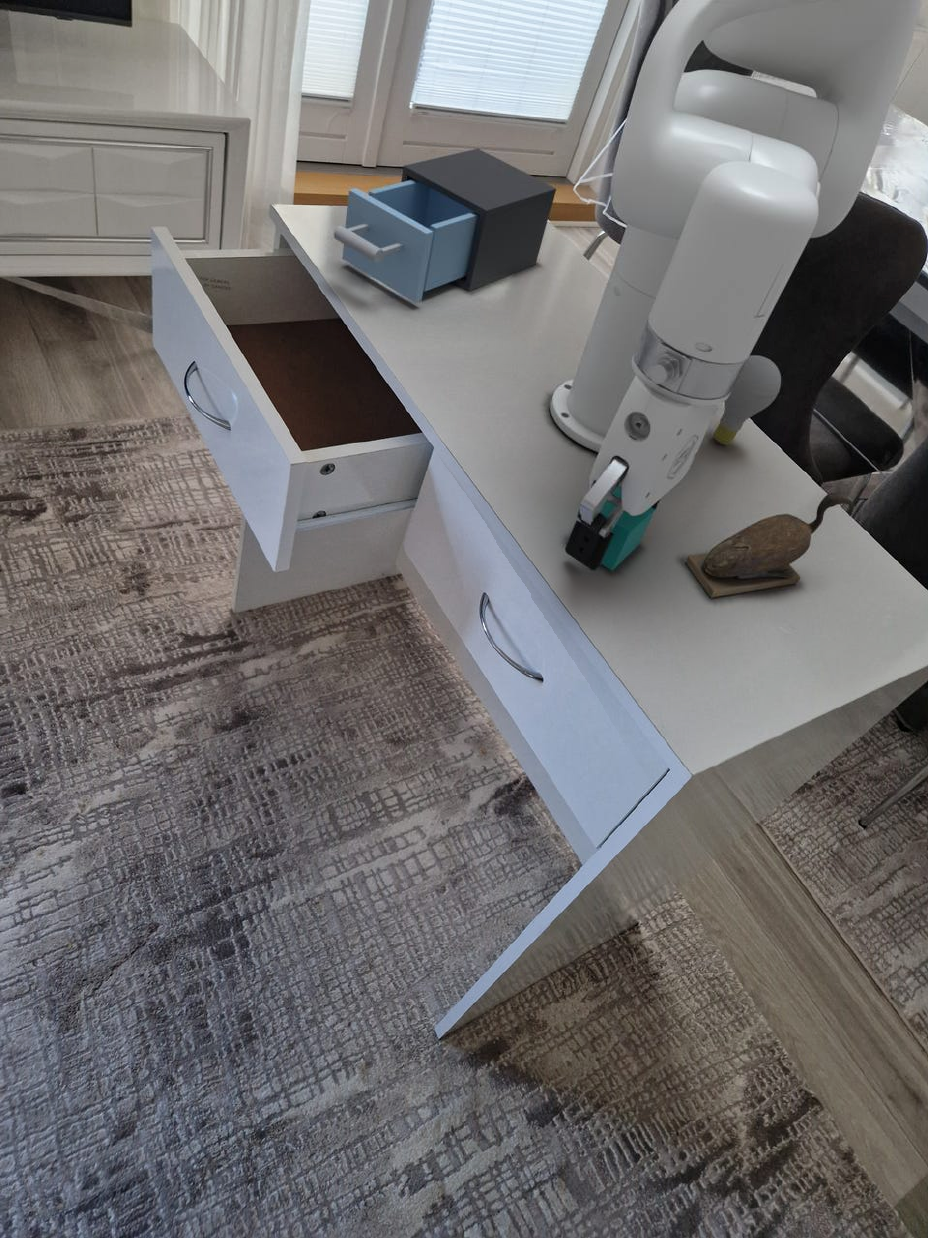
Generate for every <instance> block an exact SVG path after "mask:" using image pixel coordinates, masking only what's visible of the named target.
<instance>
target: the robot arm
mask: <svg viewBox="0 0 928 1238" xmlns="http://www.w3.org/2000/svg"><path fill="white" fill-rule="evenodd" d="M922 2H923V0H678V1H677V2H676V4H674V6H673V7H672V8H671V10H670V11H669V13H668V14H667V15H666V17H665V18H664V20H663V22H662V24H661V25H660V26H659V28H658V30H657V32H656V34H655V35H654V37H653V39H652V41H651V44H650V46H649V48H648V50H647V52H646V55H645V57H644V60H643V62H642V65H641V68H640V70H639V74H638V76H637V80H636V84H635V87H634V90H633V95H632V98H631V101H630V105H629V108H628V109H629V110H628V112H627V116H626V119H625V122H624V126H623V129H622V133H621V136H620V140H619V144H618V147H617V152H616V154H615V159H614V163H613V169H612V172H611V173H612V174H611V178H610V187H609V189H610V202H611V206H612V209H613V211H614V213H615V215H616V216H617V217H618V218H619V219H620V220H621V222H623V223H624V224H626V227H625V230H624V233H623V236H622V238H621V242H620V244H619V247H618V251H617V253H616V256H615V260H614V263H613V265H612V268H611V271H610V274H609V277H608V280H607V282H606V286H605V289H604V291H603V294H602V297H601V300H600V303H599V306H598V309H597V312H596V314H595V317H594V319H593V324H592V326H591V329H590V331H589V335H588V337H587V341H586V343H585V346H584V349H583V351H582V352H583V353H582V354H581V358H580V361H579V363H578V366H577V369H576V373H575V375H574V378H573V379H570V380H568V381H565V382H563V383H562V384H560V385H559V386H557V387H556V389H555V390H554V391H553V394H552V396H551V399H550V403H549V411H550V415H551V417H552V419H553V421H554V423H555V424H556V425H557V427H558V428H559V429H560V430H561V431H562V432H563V433H564V434H565V435H566V436H567V437H569V438H570V439H572V440H573V441H575V442H576V443H577V444H579V445H581V446H583V447H585V448H586V449H589V450H591V451H594V452H596V453H598V454H597V456H596V458H595V461H594V464H593V466H592V468H591V472H590V475H589V478H588V485H589V490H588V491H587V492H586V494H585V495H584V496H583V497H582V499H581V501H579V505H578V507H579V508H578V512H577V515H576V518H575V522H574V525H573V528H572V530H571V533H570V536H569V538H568V540H567V543H566V545H565V547H564V551H565V553H566V554H567V555H569V556H570V557H571V558H573V559H575V560H576V561H577V562H579V563H581V564H582V565H584V566H585V567H587V568H588V569H590V570H591V571H596V570H597V569H599V568H600V566H601V565H602V564H601V562H602V560H603V558H604V555H605V553H606V551H607V549H608V547H609V544H610V542H611V540H612V538H613V536H614V534H613V533H612V532H611V530H612V529H613V527H614V526H615V524H616V523H617V521H618V520H619V518H620V517H621V515H622V514H623V512H624V510H625V511H627V512H628V513H629V514H630V515H632V516H636V515H640V514H642V513H644V512H645V511H646V510H648V509H649V508H650V507H652V508H653V509H655V511H656V510H657V508H658V506H659V504H660V502H661V499H662V498H663V497H664V496H666V494H668V493H669V492H670V491H671V490H672V489H674V487H676V485H678V484H679V483H680V482H681V481H682V480H683V479H684V478H685V476H686V475H687V474H688V472H689V470H690V468H691V467H692V465H693V462H694V459H695V458H696V456H697V453H698V451H699V449H700V447H701V445H702V442H703V440H704V438H705V436H706V433H707V431H708V429H709V427H710V424H711V423H712V420H713V417H714V415H715V413H716V411H717V408H718V406H719V405H720V404H723V403H724V401H725V400H727V398H728V397H729V395H730V393H731V391H732V389H733V387H734V385H735V383H736V381H737V379H738V377H739V375H740V373H741V371H742V369H743V367H744V365H745V363H746V361H747V359H748V357H749V356H751V353H752V351H753V349H755V348H754V347H755V346H756V344H757V342H758V340H759V338H760V336H761V334H762V332H763V330H764V328H765V326H766V324H767V322H768V321H769V318H770V316H771V315H772V312H773V311H774V309H775V308H776V307H775V306H776V305H777V303H778V301H779V300H780V297H781V295H782V293H783V291H784V289H785V287H786V286H787V283H788V281H789V280H790V278H791V275H792V273H793V272H794V271H795V267H796V266H797V264H798V262H799V260H800V258H801V256H802V254H803V252H804V250H805V248H806V246H807V244H808V243H809V240H810V239H815V238H820V237H823V236H826V235H827V234H829V233H831V232H832V231H834V230H835V229H836V228H838V226H840V224H841V223H842V222H843V221H844V220H845V218H846V217H847V216H848V214H849V212H850V211H851V209H852V207H853V206H854V204H855V201H856V199H857V197H858V195H859V193H860V192H861V189H862V187H863V184H864V182H865V180H866V177H867V174H868V171H869V168H870V165H871V163H872V160H873V157H874V154H875V152H876V148H877V145H878V142H879V139H880V137H881V133H882V130H883V127H884V124H885V121H886V118H887V115H888V112H889V109H890V106H891V103H892V100H893V97H894V95H895V92H896V88H897V86H898V82H899V80H900V78H901V77H900V76H901V73H902V71H903V68H904V65H905V61H906V59H907V56H908V53H909V50H910V47H911V44H912V41H913V38H914V33H915V31H916V27H917V24H918V21H919V17H920V13H921V8H922ZM702 41H703V43H704V45H705V47H706V48H707V50H708V51H709V52H710V53H711V54H713V55H714V56H716V57H717V58H719V59H721V60H722V61H724V62H727V63H729V64H732V65H735V66H738V67H741V68H744V69H747V70H750V71H752V72H756V73H760V74H763V75H767V76H770V77H772V78H773V77H774V78H777V79H780V80H783V81H787V82H791V83H794V84H798V85H801V86H805V87H808V88H810V89H812V90H813V92H814V93H815V96H816V97H815V96H812V95H808V94H805V93H802V92H798V91H795V90H791V89H788V88H785V87H783V86H781V85H777V84H773V83H770V82H766V81H764V80H759V79H757V78H753V77H749V76H746V75H742V74H739V73H735V72H732V71H731V72H729V71H725V70H717V69H698V70H693V71H690V72H686V73H684V72H685V69H686V66H687V64H688V62H689V60H690V59H691V57H692V55H693V53H694V51H695V50H696V49H697V47H699V45H700V44H701V42H702ZM617 487H618V488H620V489H621V490H622V500H621V499H620V498H618V497H617V496H615V495H614V494H612V493H613V491H614V490H615V489H616V488H617ZM606 500H608V501H609V502H611V503H613V504H614V505H616V506H615V508H614V510H613V511H612V513H611V514H610V516H609V517H608V519H607V520H606V518H605V516H604V515H603V514H602V513H600V512H601V511H602V507H603V505H604V503H605V502H606Z"/></svg>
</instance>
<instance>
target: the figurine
mask: <svg viewBox="0 0 928 1238" xmlns="http://www.w3.org/2000/svg"><path fill="white" fill-rule="evenodd" d="M838 505H849V513H848V517H851V516H852V514H853V511H854V507H855V506H854V502H853V501H852V500H851V499H849V498H848V497H845V496H842V495H838V494H837V493H836V492H829V493H827V494H826V495H825V496H824V497H823V498H822V500H821V501H820V502H819V504H818V506H817V508H816V515H815V519H814V520H812V521H811V522H809V523H807V522H806V521H804V520H803V519H801V518H799V517H797V516H795V515H792V514H789V513H782V514H776V515H772V516H769V517H766V518H762V519H760V520H758V521H756V522H754V523H752V524H751V525H748V526H747V527H744V528H743V529H741V530H739V531H738V532H735V533H734V534H732V535H730V536H729V537H727V538H726V539H724V540H722V541H721V542H719V543H718V544H717V545H715V546H714V547H713V548H711V549H710V551H709V552H707V553H701V554H694V555H688V557H687V559H686V560H685V563H686V565H687V567H688V568H689V570H690V571H691V572H692V574H693V575H694V577H695V578H696V579H697V581H698V582H699V584H700V585H701V586H702V588H703V589H704V590H705V592H706V593H707V595H708V596H709V597H710V598H716V597H721V596H728V595H734V594H735V595H736V594H740V593H745V592H753V591H757V590H764V589H771V588H777V587H781V586H782V587H783V586H789V585H795V584H797V583H798V582H799V581H800V579H801V577H800V575H799V574H798V573H797V571H796V570H795V569H794V568H793V567H792V566H791V564H792V563H794V562H795V561H797V560H798V559H800V558H801V557H802V556H804V555H805V554H806V553H807V552H808V550H809V549H810V546H811V541H812V534H814V533H815V531H817V529H818V528H819V527H820V526H821V525H822V523H823V520H824V515H825V512H826V510H828V509H829V508H832V507H835V506H838Z"/></svg>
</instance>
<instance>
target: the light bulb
mask: <svg viewBox="0 0 928 1238" xmlns="http://www.w3.org/2000/svg"><path fill="white" fill-rule="evenodd" d="M781 385H782V376H781V371H780V369H779V368H778V366H777V365H776V363H775V362H773V361H772V360H771V359H769V358H767V357H766V356H762V355H759V354H758V355H757V354H756V355H753V354H752V355H750V356H749V357H748V359H747V361H746V363H745V365H744V367H743V369H742V371H741V373H740V375H739V377H738V379H737V381H736V383H735V385H734V387H733V389H732V391H731V393H730V395H729V397H728V398H727V400H725V401H724V402H723V403H724V412H723V414H722V416H721V417H720V420H719V423H718V424H717V425H718V426H717V427H716V429H715V430H714V433H713V438H714V439H715V440H716V441H717V442H718V444H721V445H729V444H732V442H733V441H734V439H735V437H736V436H737V433H738V432H739V431H740V430H741V429H742V427H743V425H744V423H745V422H746V421H747V420H748V419H750V418H751V417H753V416H755V415H757V414H758V413H760V412H762V411H763V410H765V409H766V408H768V407H769V406H771V404H773V402H774V401H775V400H776V399H777V396H778V395H779V393H780V390H781Z"/></svg>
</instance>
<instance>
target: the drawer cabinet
mask: <svg viewBox="0 0 928 1238" xmlns="http://www.w3.org/2000/svg"><path fill="white" fill-rule="evenodd" d="M413 179H415V180H417V181H419V182H421V183H423V184H425V185H426V186H428V187H430V188H432V189H434V190H436V191H437V192H439V193H441V194H443V195H445V196H447V197H448V198H450V199H452V200H454V201H456V202H458V203H459V204H461V205H463V206H465V207H467V208H469V209H471V210H472V211H474V212H476V213H478V214H480V217H479V221H478V226H477V231H476V236H475V240H474V245H473V250H472V254H471V259H470V264H469V268H468V273H467V276H464V277H461V278H459V279H456V280H454V281H451V282H452V283H453V284H455V285H457V286H459V287H461V288H462V289H464V290H465V291H467V292H472V291H475V290H476V289H479V288H481V287H483V286H487V285H488V284H490V283H493V282H496V281H498V280H501V279H503V278H505V277H508V276H510V275H513V274H515V273H517V272H520V271H522V270H525V269H527V268H529V267H532V266H535V265H536V264H537V262H538V257H539V254H540V249H541V246H542V243H543V239H544V236H545V232H546V229H547V224H548V221H549V217H550V213H551V211H552V207H553V203H554V199H555V195H556V191H557V188H556V187H554V186H552V185H550V184H548V183H546V182H545V181H543V180H540V179H538V178H537V177H534V176H533V175H531V174H529V173H528V172H526V171H523V170H521V169H519V168H517V167H515V166H514V165H511V164H509V163H507V162H505V161H503V160H502V159H499V158H498V157H495V156H493V155H492V154H490V153H488V152H486V151H484V150H482V149H480V148H475V149H469V150H465V151H461V152H457V153H453V154H448V155H444V156H440V157H435V158H431V159H427V160H422V161H418V162H414V163H410V164H409V163H408V164H405V165H403V167H402V175H401V181H400V183H401V182H405V181H409V180H413Z"/></svg>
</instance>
